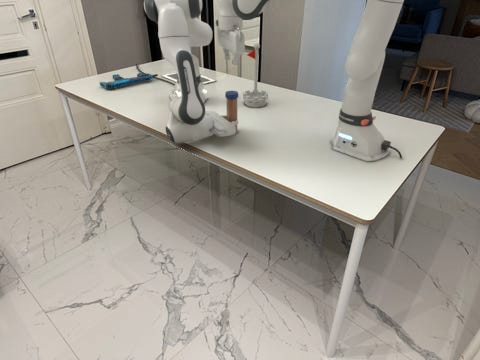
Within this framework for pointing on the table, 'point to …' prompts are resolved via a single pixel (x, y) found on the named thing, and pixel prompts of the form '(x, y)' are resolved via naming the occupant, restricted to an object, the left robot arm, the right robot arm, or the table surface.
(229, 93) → the lid
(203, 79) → the tablet
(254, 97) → the flag stand
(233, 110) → the jar
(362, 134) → the right robot arm
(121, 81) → the submachine gun
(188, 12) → the left robot arm
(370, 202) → the table surface
